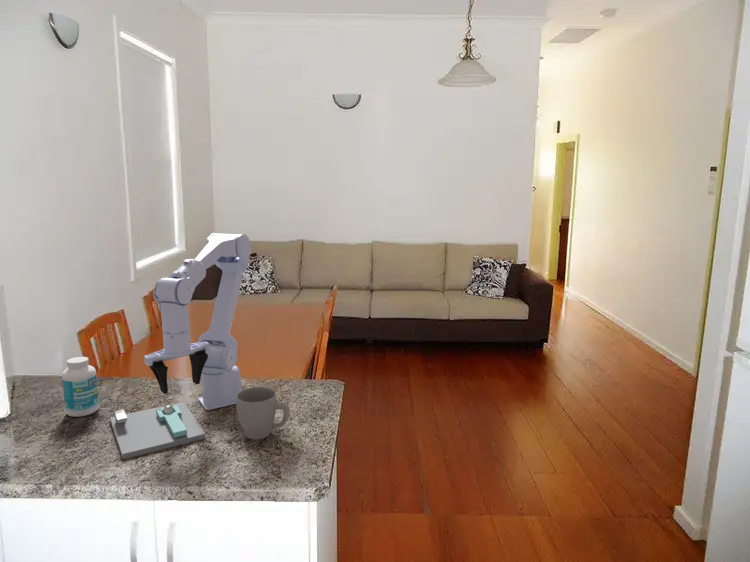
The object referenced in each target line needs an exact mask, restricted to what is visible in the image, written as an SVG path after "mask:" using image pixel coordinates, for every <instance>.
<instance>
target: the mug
mask: <svg viewBox="0 0 750 562" xmlns="http://www.w3.org/2000/svg"><path fill="white" fill-rule="evenodd" d="M235 405H236V412H237V413H236V414H237V418H238V420H239V423H240V426H241V428H242V430H243V431H244V434H245V436H246V438H248V439H250V440H262V439H266V438H267V437H268V436H270V433H271V430H272V429H278V428H282V427H284V426H285V425H286V423H287V421H288V420H289V418H290V415H291V411H290V406H289V405H288V404H287V402H285V401H278V400H277V393H276V391H275V389H272V388H270V387H266V386H254V387H253V386H252V387H249V388H248V387H247V388H245V389H242V391H240V392H239V393H238V394H237V396H236V404H235ZM277 410H283V415H282V419H281V421H279V422H277V423H275V420H276V419H275V418H276V411H277Z"/></svg>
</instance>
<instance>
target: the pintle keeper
mask: <svg viewBox="0 0 750 562" xmlns="http://www.w3.org/2000/svg"><path fill="white" fill-rule="evenodd" d="M163 406H164V414H169V413H173V405H171V404H166V405H163ZM126 414H127V413H126V411H125V410H124V408H122V409H119V410H114V417H115V422H116V424H121V423H125V422H126V421H127V416H126Z"/></svg>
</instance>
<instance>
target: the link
mask: <svg viewBox="0 0 750 562" xmlns="http://www.w3.org/2000/svg"><path fill="white" fill-rule="evenodd" d="M156 415H157V416H158V418H159V420H160V422H163V421H165V422H166V424H167V426H168V428H169V429H170V431H171V433H172V435H173V437H174V438H176V437H180V436H184V435H187V429H186V427H185V426H184V424H183V422H182V421H181V419H180V417H182V414H181V411H180V409H179V408H178V406H177V405H175V406H173V413H169V414H164V408H161V409H156Z"/></svg>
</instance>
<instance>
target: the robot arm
mask: <svg viewBox="0 0 750 562" xmlns="http://www.w3.org/2000/svg"><path fill="white" fill-rule="evenodd" d="M251 252H252V245H251V240H250V238H249V237H248V235H247V234H246V233H237V234H236V233H219V232H218V233H217V232H212V233H210V235H209V236H208V237H207V238H206V240H205V246H203V249H201V250H200V252H199V253H198V255H196V257H195V258H189V259H188V258H186V259H184V260H183V261H182V262H183V263H182V264H181V265H180V266H179V267H178V268H176V269H175V270H174V271H173V272H171V274H170V275H169V276H168V277H162V278H160V279H159V280H158V281H156V283H155V285H154V289H153V292H152V296H153V299H154V301H155V302H156V303H157V309H158V310H159V312H160V315H161V316H160V317H161V329H162V340H163V348H162V349H160V350H157V351H154V352H152V353H149V354H147V355H143V359H144V361H143V362H144V365H146V366H147V367H149V369H150V370H151V372H152V373H153V375H154V376H155V378H156V380H157V383H158V386H159V389H160V392H162V394H164V395H165V394H168V392H169V387H168V369H169V366H166V365H165V362H167V361H171V360H174V359H178V358H184V357H186V356H189V361H190V366H191V377H192V378H191V379H192V382H193V383H194V384H195V385H200V383H201V389H202V390H201V391H202V396H201V397H200V396H199V397H198V400H197V401H199V403H200V404H201V405H202V406H203V408H204V409H205V410H206V411H211V410H214V409H215V410H216V409H218V408H224V407H228V406H233V405H236V396H237V394H238V393H239V392H240V391H242V390H243V388H242V376H241V375H242V374H241V371H240V369H239V367H238V366H237V365H236V363H237V360H238V344H239V343H238V341H237V340H236V338H235V337H234V336H233V335H232V334H231V329H232V326H233V325H232V324H233V321H234V315H235V312H236V307H237V302H238V298H239V293H240V288H241V285H242V279H243V275H244V271H245V270H246V269H247V268H248V266H249V262H250V258H251ZM213 264H215V266H216V267H218V268H219V269H220V270H221V271H222V272H221V278H220V283H219V285H218V292H217V296H216V300H215V303H214V308H213V312H212V317H211V320H210V321H211V322H210V325H209V328H208V330H207V331H205V332H204V333H202V334H201V335H200V336H198V340H197V342H192V343H191V331H190V313H189V303H190V302H191V300H192V298H193V294H194V292H195V289H196V287H197V286H198V285H199V284H200V283H202V281H203V280H204V279H205V278H206V276H207V269H208V268H209V267H211V266H212V265H213Z"/></svg>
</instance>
